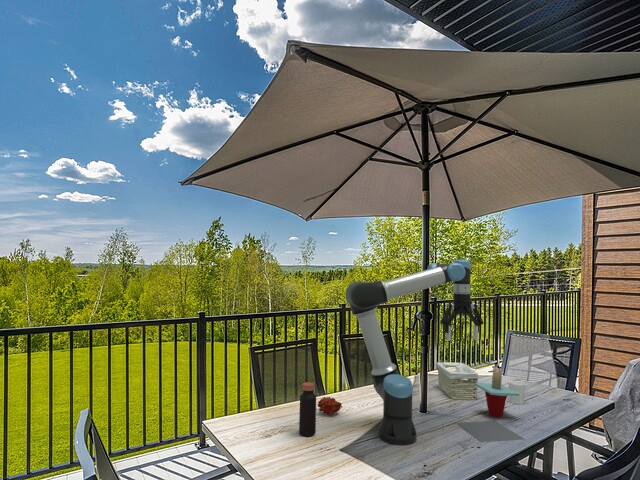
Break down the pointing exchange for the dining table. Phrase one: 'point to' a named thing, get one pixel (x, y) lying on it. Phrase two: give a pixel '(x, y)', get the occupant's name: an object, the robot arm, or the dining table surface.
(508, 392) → the lid
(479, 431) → the mat
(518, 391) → the white cup
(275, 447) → the dining table surface
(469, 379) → the storage basket
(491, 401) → the plastic cup
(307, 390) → the bottle
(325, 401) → the dragon fruit
